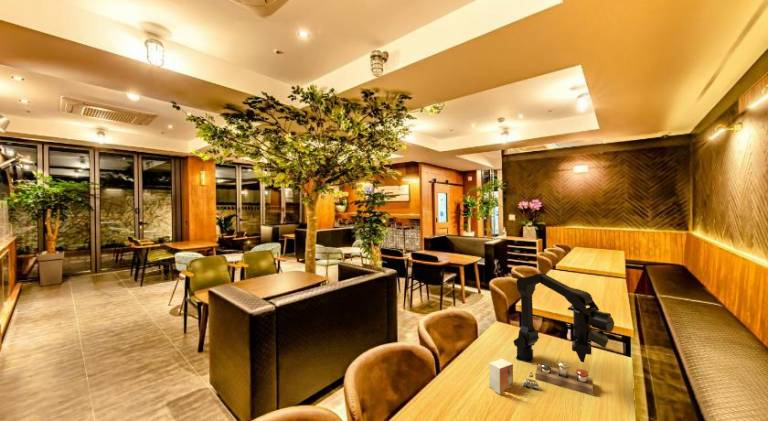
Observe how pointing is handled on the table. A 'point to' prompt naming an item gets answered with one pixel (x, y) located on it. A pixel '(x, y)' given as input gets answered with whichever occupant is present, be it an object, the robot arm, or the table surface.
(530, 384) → the house of cards
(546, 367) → the grey plug
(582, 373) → the red plug
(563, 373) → the cream plug
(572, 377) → the socket board
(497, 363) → the small box
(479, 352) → the table surface
